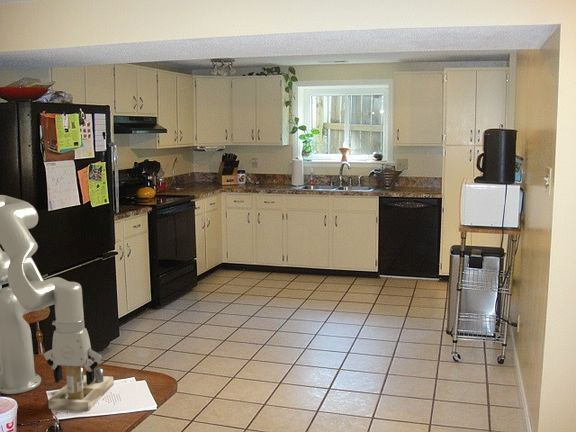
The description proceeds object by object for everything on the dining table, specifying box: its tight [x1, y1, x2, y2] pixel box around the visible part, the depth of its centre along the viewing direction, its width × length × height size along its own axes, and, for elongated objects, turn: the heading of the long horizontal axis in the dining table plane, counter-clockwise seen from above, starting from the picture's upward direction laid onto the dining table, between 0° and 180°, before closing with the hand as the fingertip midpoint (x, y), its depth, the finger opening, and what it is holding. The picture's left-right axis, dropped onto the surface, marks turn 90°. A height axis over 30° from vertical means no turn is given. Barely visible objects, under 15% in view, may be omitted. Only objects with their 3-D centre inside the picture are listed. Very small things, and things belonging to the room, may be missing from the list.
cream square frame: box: [47, 366, 114, 412], centre depth 183 cm, size 12×17×6 cm
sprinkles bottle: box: [64, 366, 84, 400], centre depth 179 cm, size 5×5×14 cm
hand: (74, 381), depth 180 cm, fingers open, 9 cm apart
